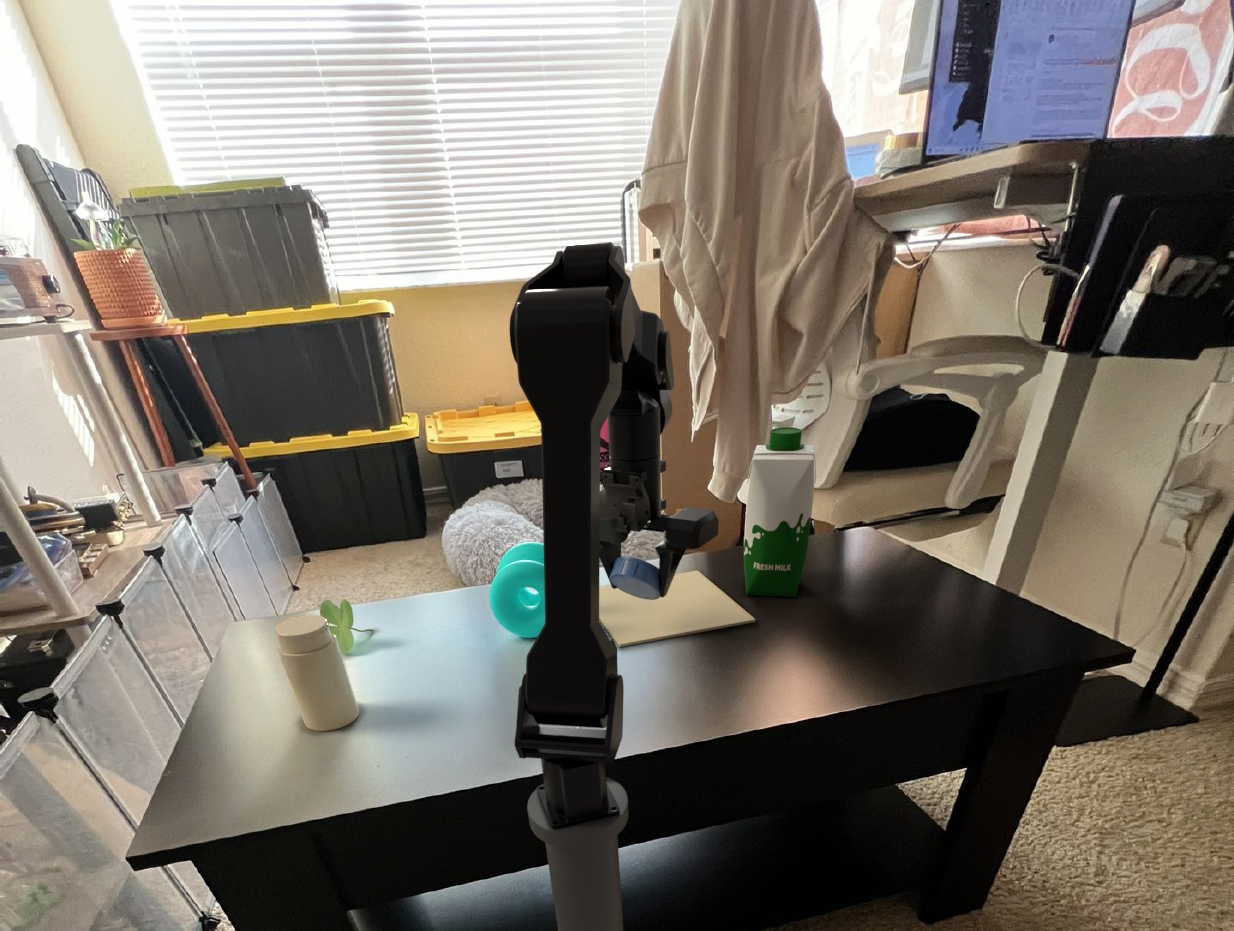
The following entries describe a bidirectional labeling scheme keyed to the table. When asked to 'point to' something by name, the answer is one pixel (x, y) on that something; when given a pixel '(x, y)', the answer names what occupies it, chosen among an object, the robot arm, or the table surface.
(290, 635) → the jar
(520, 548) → the turquoise spool
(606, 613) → the placemat
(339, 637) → the green clover
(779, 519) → the milk carton
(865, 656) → the table surface
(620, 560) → the lid
